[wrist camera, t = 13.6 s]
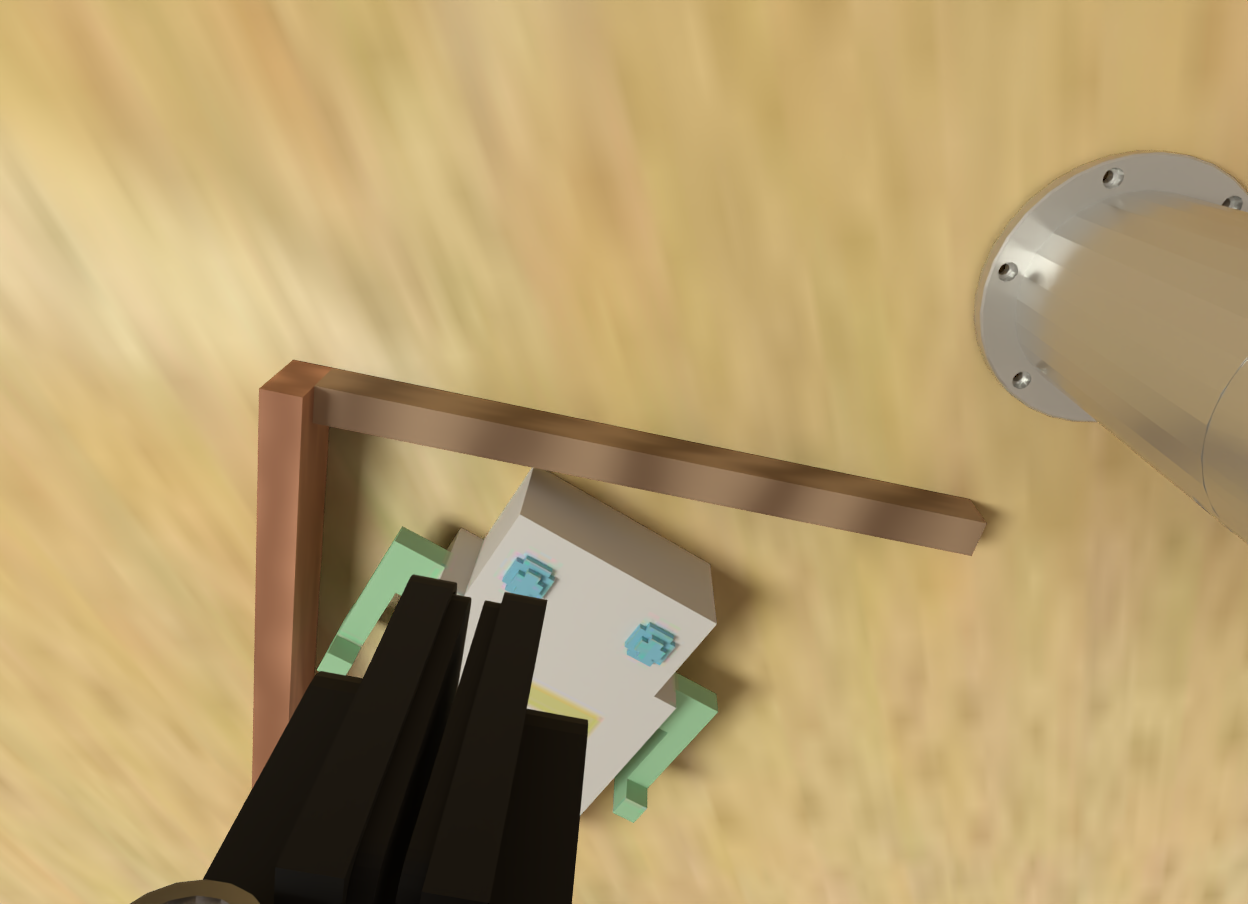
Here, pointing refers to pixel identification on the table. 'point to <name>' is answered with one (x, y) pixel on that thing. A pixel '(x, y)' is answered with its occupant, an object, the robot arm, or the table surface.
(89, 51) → the table surface
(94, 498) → the table surface
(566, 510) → the decorative block
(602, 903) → the table surface
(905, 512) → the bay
